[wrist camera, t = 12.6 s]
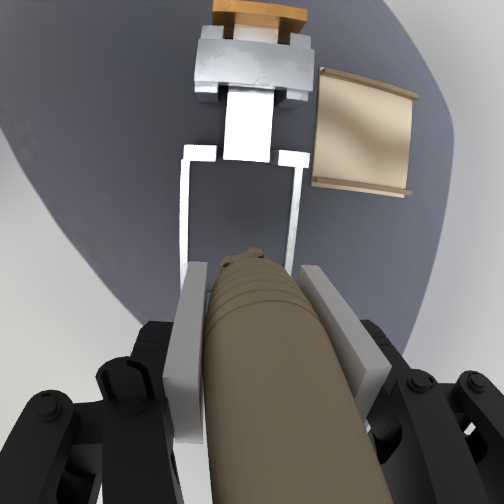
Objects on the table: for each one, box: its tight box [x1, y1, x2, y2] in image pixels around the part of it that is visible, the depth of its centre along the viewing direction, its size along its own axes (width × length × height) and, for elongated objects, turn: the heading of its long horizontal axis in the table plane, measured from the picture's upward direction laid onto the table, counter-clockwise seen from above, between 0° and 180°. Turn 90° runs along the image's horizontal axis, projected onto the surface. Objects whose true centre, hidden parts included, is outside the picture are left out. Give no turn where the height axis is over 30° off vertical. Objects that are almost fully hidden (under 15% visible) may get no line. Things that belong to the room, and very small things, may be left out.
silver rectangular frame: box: [180, 145, 310, 308], centre depth 21 cm, size 13×9×4 cm
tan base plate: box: [310, 67, 419, 198], centre depth 21 cm, size 10×9×2 cm
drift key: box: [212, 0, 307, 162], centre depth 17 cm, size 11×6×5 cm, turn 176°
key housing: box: [194, 25, 315, 109], centre depth 17 cm, size 5×7×5 cm
